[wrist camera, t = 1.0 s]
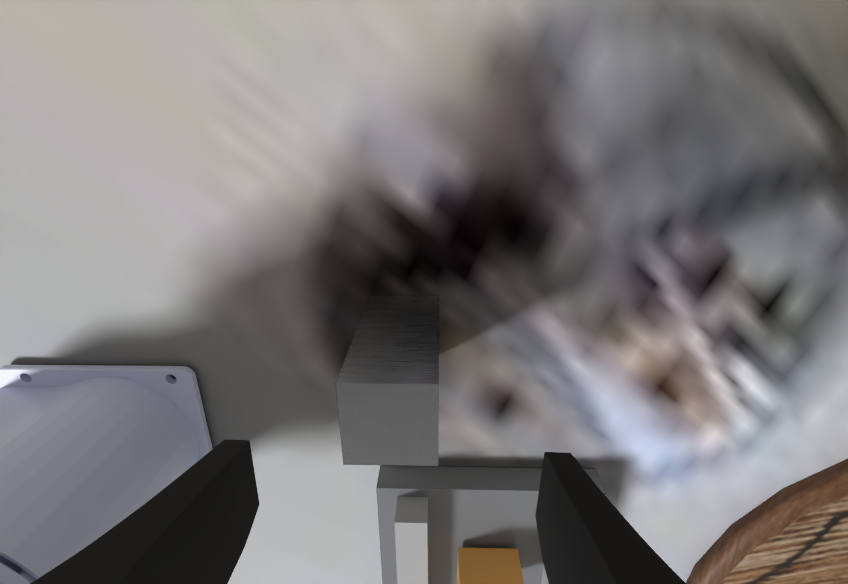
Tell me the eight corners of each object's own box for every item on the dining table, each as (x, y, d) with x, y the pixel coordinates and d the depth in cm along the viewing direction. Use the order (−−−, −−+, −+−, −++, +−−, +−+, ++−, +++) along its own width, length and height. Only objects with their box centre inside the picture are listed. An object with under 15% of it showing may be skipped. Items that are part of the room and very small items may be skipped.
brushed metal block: (373, 354, 20) (343, 464, 14) (370, 294, 19) (335, 383, 13) (438, 355, 20) (438, 465, 14) (438, 294, 19) (438, 384, 13)
